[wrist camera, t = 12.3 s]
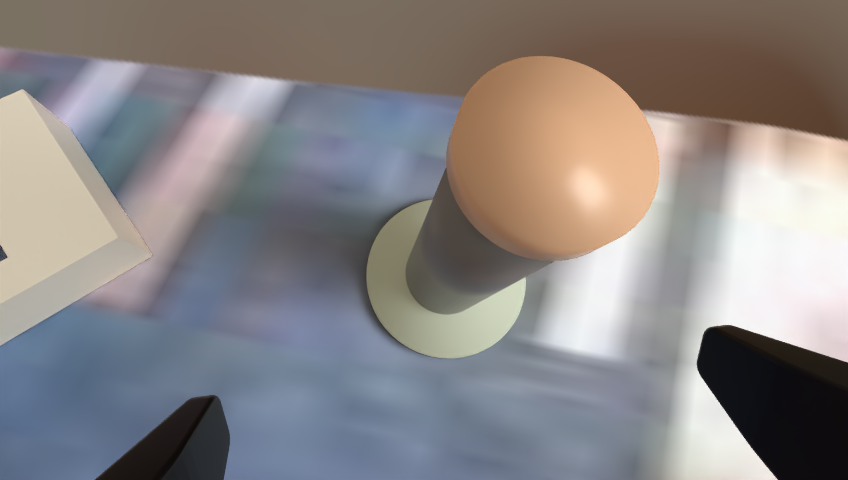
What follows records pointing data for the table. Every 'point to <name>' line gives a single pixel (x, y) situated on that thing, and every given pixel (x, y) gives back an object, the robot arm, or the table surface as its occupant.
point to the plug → (531, 180)
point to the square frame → (53, 219)
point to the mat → (416, 322)
